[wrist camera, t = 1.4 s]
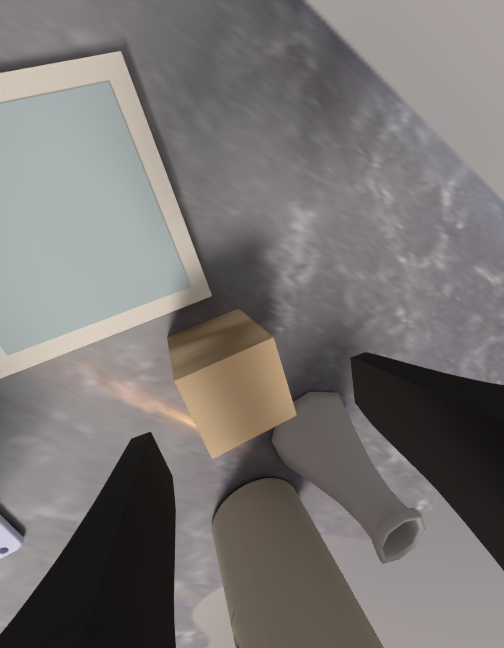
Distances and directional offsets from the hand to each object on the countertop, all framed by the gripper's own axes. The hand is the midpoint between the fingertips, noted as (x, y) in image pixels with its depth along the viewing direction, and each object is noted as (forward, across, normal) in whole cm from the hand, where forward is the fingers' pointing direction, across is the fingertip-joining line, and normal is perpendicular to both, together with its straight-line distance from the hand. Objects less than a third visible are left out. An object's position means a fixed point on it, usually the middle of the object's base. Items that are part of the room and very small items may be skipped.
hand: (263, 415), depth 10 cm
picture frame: (+10, +6, -8) cm, 14 cm away
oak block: (+10, +1, +2) cm, 10 cm away
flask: (+10, -5, +12) cm, 16 cm away
